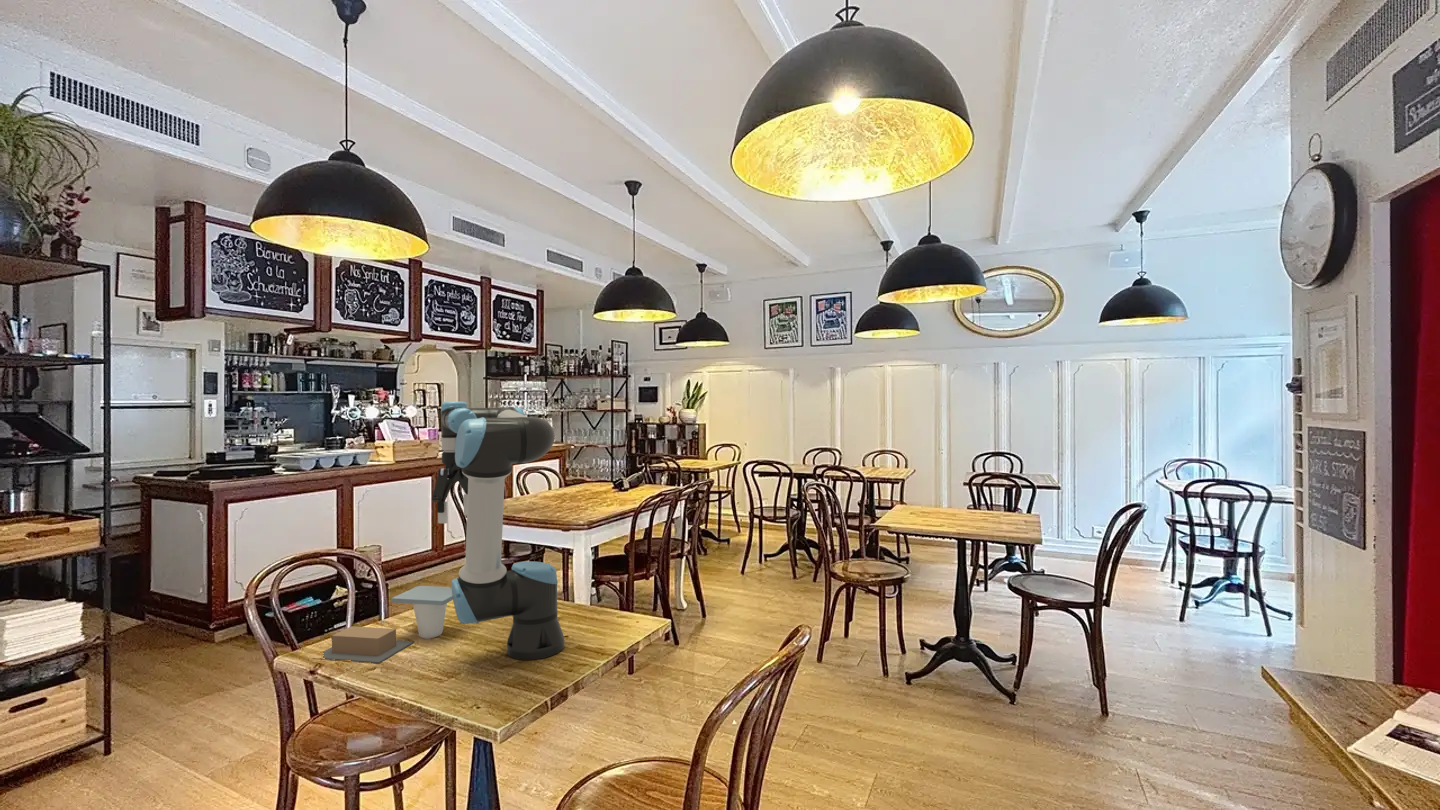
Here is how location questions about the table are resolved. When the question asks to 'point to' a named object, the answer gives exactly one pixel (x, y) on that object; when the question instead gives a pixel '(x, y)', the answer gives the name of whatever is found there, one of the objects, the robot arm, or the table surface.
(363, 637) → the brown block on plate
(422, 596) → the sheet
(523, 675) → the table surface
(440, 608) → the cup
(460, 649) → the table surface
